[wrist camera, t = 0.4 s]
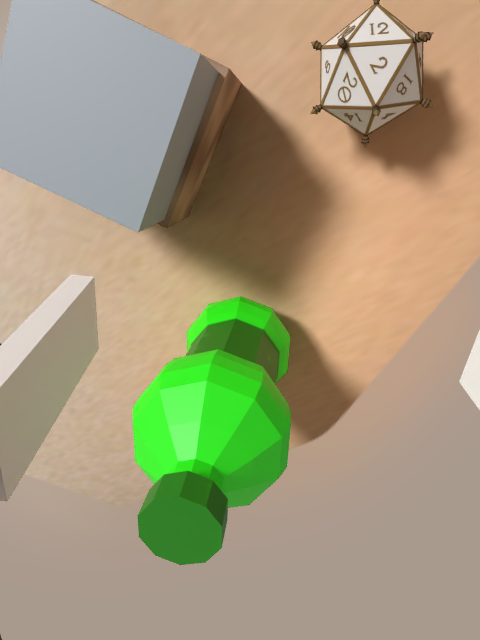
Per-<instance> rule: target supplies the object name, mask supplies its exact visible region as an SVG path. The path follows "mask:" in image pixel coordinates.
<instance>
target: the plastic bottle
mask: <svg viewBox="0 0 480 640" xmlns="http://www.w3.org/2000/svg"><path fill="white" fill-rule="evenodd" d="M289 349H290V334H289V333H288V331H287V330H286V328H285V327H284V325H283V324H282V322H281V321H280V319H279V318H278V316H277V315H276V313H275V312H274V310H273V309H272V308H269V307H266V306H264V305H261V304H259V303H256V302H254V301H251V300H249V299H246V298H243V297H237V298H233V299H228V300H224V301H220V302H216V303H211V304H209V305H208V306H207V307H206V309H205V310H204V311H203V312H202V313H201V315H200V316H199V317H198V318H197V320H196V321H195V322H194V323H193V325H192V326H191V327H190V328H189V330H188V332H187V354H186V356H184V357H179V358H175V359H173V360H172V361H171V362H169V363H168V364H167V365H166V366H165V367H164V368H163V369H162V371H161V372H160V373H159V374H158V375H157V377H156V378H155V379H154V380H153V382H152V383H151V384H150V385H149V386H148V388H147V389H146V390H145V391H144V393H143V394H142V395H141V396H140V398H139V399H138V401H137V402H136V404H135V405H134V407H133V431H134V448H135V461H136V463H137V464H138V465H139V466H140V467H141V469H142V470H143V471H144V472H145V473H146V475H147V476H148V477H149V478H150V479H151V481H152V482H153V483H154V485H153V486H152V488H151V489H150V490H149V492H148V494H147V497H146V499H145V501H144V503H143V505H142V508H141V510H140V512H139V514H138V526H139V537H140V538H141V540H142V541H143V542H144V543H145V544H146V545H147V546H148V547H149V549H150V550H151V551H152V552H153V553H154V554H155V555H156V556H158V557H161V558H164V559H166V560H169V561H171V562H174V563H177V564H179V565H184V564H194V563H203V562H206V561H207V560H208V559H210V558H211V557H212V556H213V555H214V554H215V553H217V552H218V551H219V550H220V549H221V548H222V543H223V538H224V533H225V528H226V523H227V512H228V508H230V507H238V506H245V505H250V504H251V503H252V502H253V501H254V500H255V499H256V498H257V497H258V496H260V495H261V494H262V493H263V492H264V491H265V490H266V489H267V488H268V487H270V486H271V485H272V484H273V483H274V482H275V481H276V480H277V479H278V478H279V477H280V476H281V474H282V473H283V472H284V470H285V469H286V467H287V460H288V449H289V438H290V427H291V410H290V408H289V405H288V402H287V401H286V399H285V398H284V396H283V395H282V393H281V392H280V391H279V389H278V388H277V386H276V383H277V382H278V381H279V380H280V379H281V378H282V377H283V376H284V375H285V374H286V372H287V371H288V361H289Z"/></svg>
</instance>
